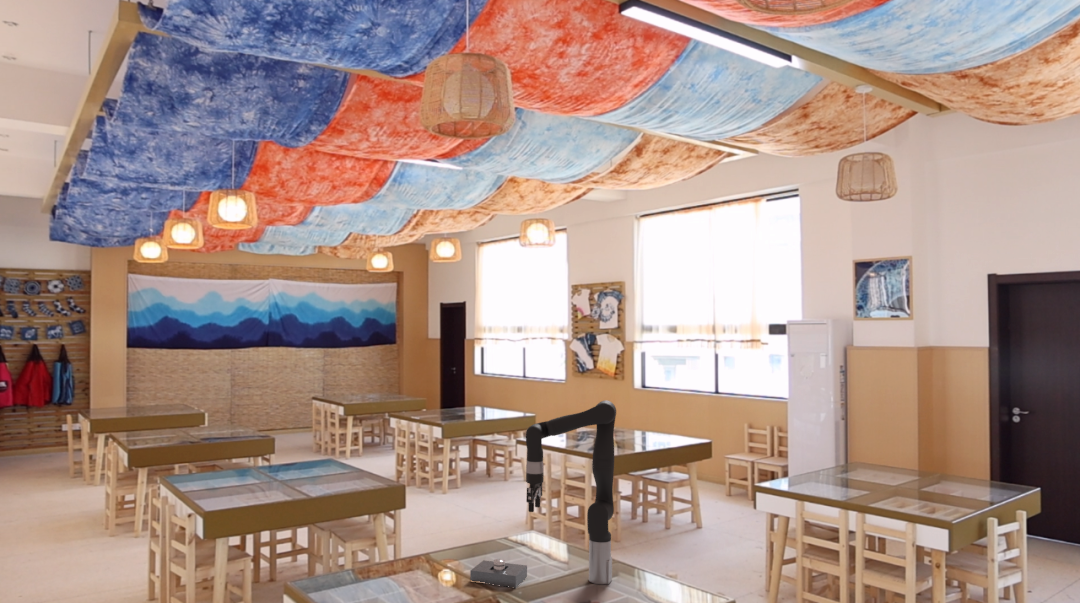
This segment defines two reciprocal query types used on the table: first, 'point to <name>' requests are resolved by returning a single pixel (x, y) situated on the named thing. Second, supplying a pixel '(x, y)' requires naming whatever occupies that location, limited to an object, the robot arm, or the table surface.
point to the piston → (499, 564)
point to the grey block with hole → (499, 574)
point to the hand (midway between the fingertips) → (534, 509)
